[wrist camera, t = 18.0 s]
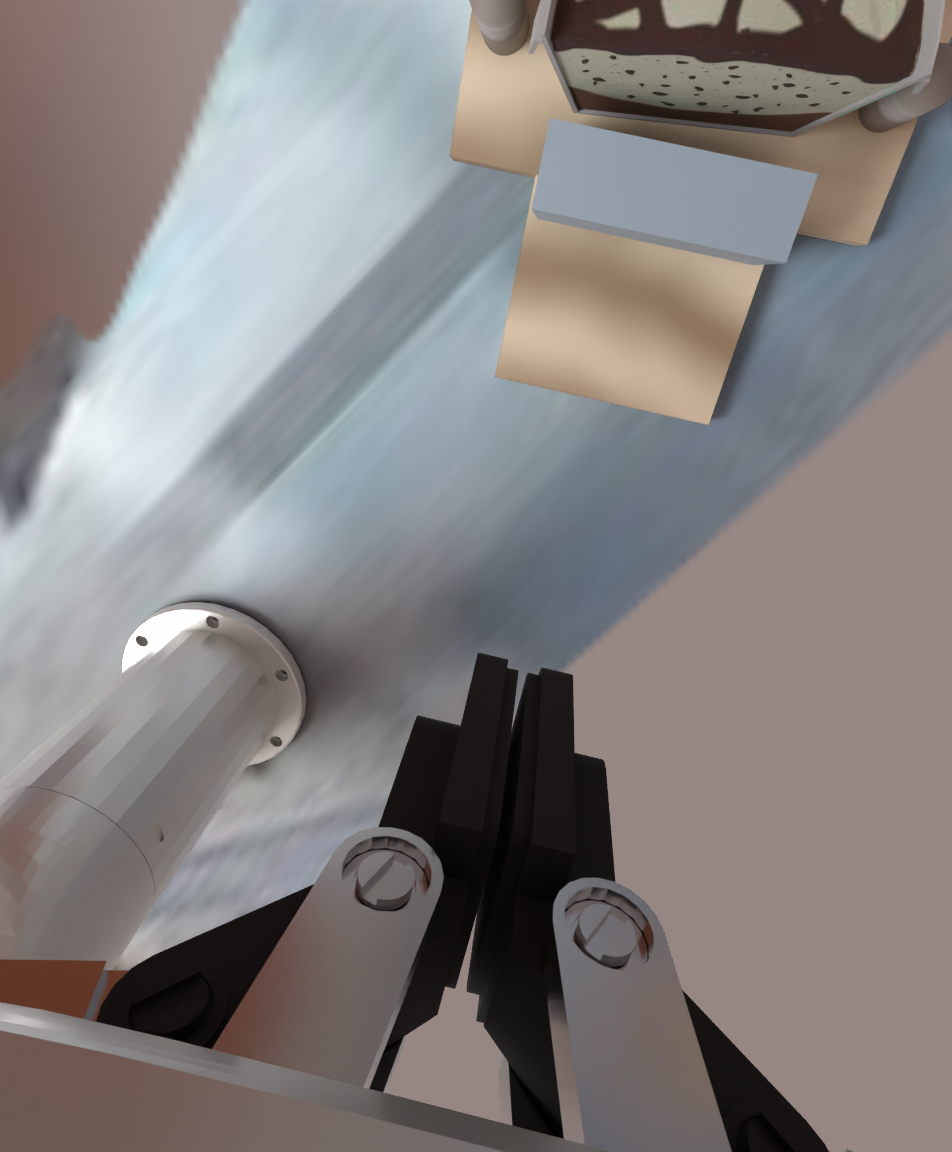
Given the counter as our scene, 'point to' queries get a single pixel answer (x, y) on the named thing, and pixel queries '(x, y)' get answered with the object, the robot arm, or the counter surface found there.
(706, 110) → the food container
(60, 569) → the counter surface
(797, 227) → the block
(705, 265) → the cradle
